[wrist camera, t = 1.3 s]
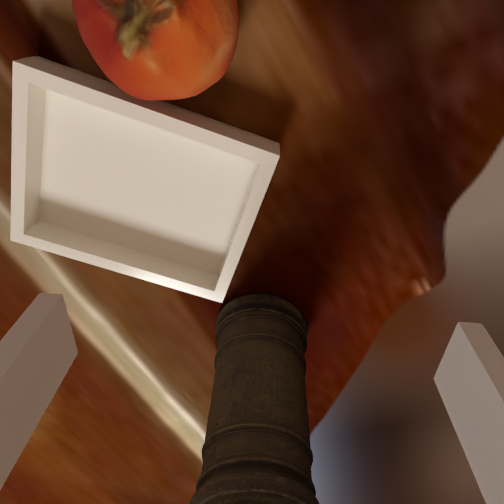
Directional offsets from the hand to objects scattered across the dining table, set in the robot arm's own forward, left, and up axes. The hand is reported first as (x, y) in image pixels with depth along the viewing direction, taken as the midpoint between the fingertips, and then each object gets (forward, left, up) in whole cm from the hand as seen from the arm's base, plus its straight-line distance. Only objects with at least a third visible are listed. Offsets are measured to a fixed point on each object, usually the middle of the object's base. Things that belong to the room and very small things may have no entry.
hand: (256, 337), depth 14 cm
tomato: (-9, +7, -20) cm, 23 cm away
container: (+6, -17, -20) cm, 27 cm away
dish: (-8, -6, -20) cm, 22 cm away
